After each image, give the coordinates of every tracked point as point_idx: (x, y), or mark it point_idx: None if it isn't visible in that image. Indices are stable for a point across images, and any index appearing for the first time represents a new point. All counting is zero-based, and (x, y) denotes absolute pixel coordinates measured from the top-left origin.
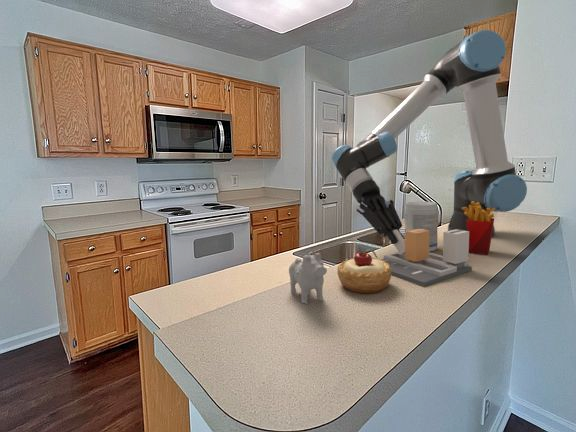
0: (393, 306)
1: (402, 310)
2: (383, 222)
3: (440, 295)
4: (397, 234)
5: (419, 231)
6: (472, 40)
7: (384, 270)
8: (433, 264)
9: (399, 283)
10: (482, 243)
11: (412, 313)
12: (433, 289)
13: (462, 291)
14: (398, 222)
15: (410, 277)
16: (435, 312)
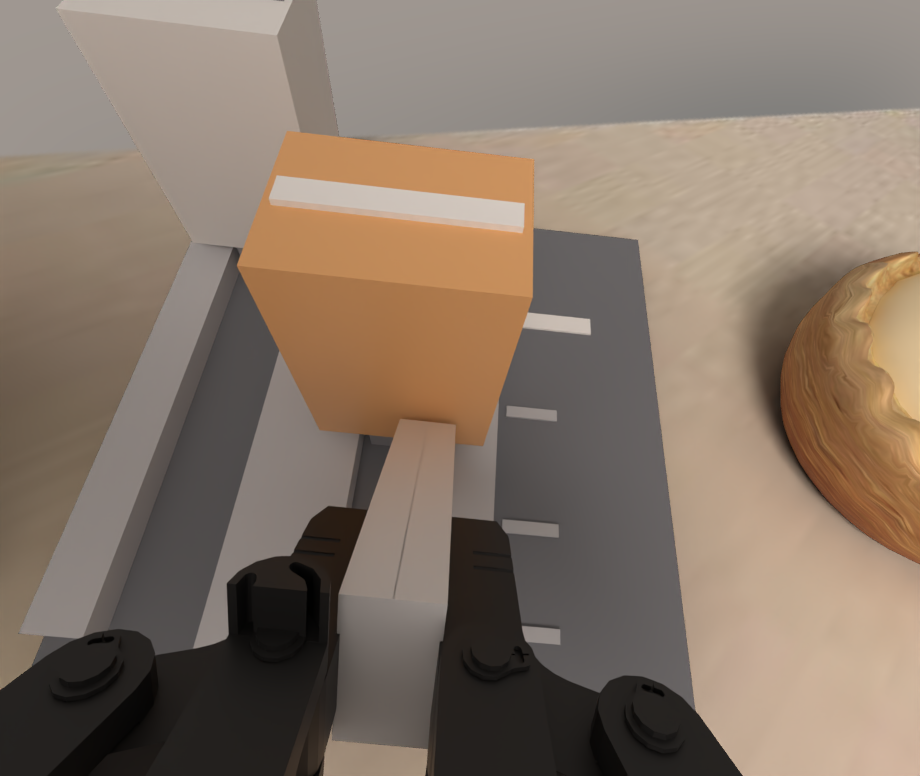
0: (875, 233)
1: (861, 202)
2: None
3: (642, 182)
4: (427, 535)
5: (413, 178)
6: None
7: (912, 276)
8: None
9: (699, 342)
10: None
11: (840, 176)
12: (616, 219)
13: (537, 153)
14: (36, 755)
15: (642, 306)
16: (765, 143)
